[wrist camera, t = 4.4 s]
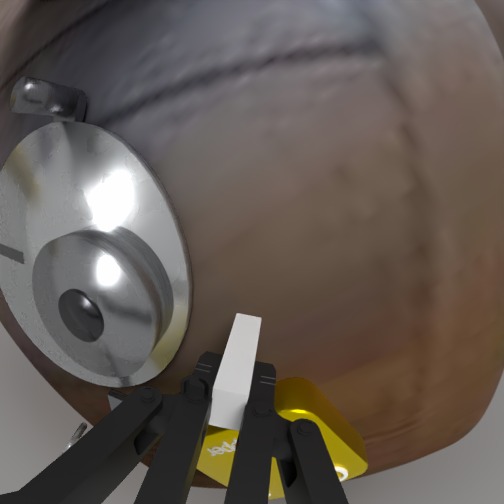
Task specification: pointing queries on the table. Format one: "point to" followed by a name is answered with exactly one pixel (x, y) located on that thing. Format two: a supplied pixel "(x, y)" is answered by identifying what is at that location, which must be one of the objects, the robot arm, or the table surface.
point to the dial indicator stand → (114, 401)
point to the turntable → (82, 213)
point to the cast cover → (103, 297)
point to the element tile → (291, 408)
